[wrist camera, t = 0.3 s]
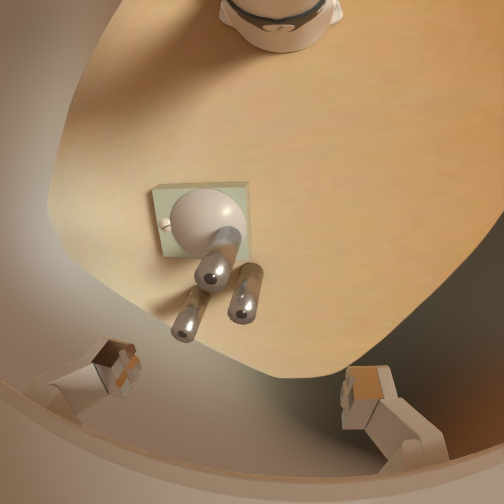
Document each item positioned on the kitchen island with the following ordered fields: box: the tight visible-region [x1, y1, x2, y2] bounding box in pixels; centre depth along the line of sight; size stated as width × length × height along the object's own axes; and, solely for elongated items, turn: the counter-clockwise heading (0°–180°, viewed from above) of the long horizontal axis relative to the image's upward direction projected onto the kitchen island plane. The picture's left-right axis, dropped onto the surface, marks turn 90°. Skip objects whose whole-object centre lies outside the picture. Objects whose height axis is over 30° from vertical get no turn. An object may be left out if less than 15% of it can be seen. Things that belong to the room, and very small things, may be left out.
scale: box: [152, 182, 251, 260], centre depth 49 cm, size 13×16×4 cm
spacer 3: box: [228, 263, 263, 325], centre depth 50 cm, size 4×4×12 cm
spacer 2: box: [194, 226, 242, 293], centre depth 43 cm, size 4×4×12 cm
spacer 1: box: [171, 286, 211, 343], centre depth 54 cm, size 4×4×12 cm
